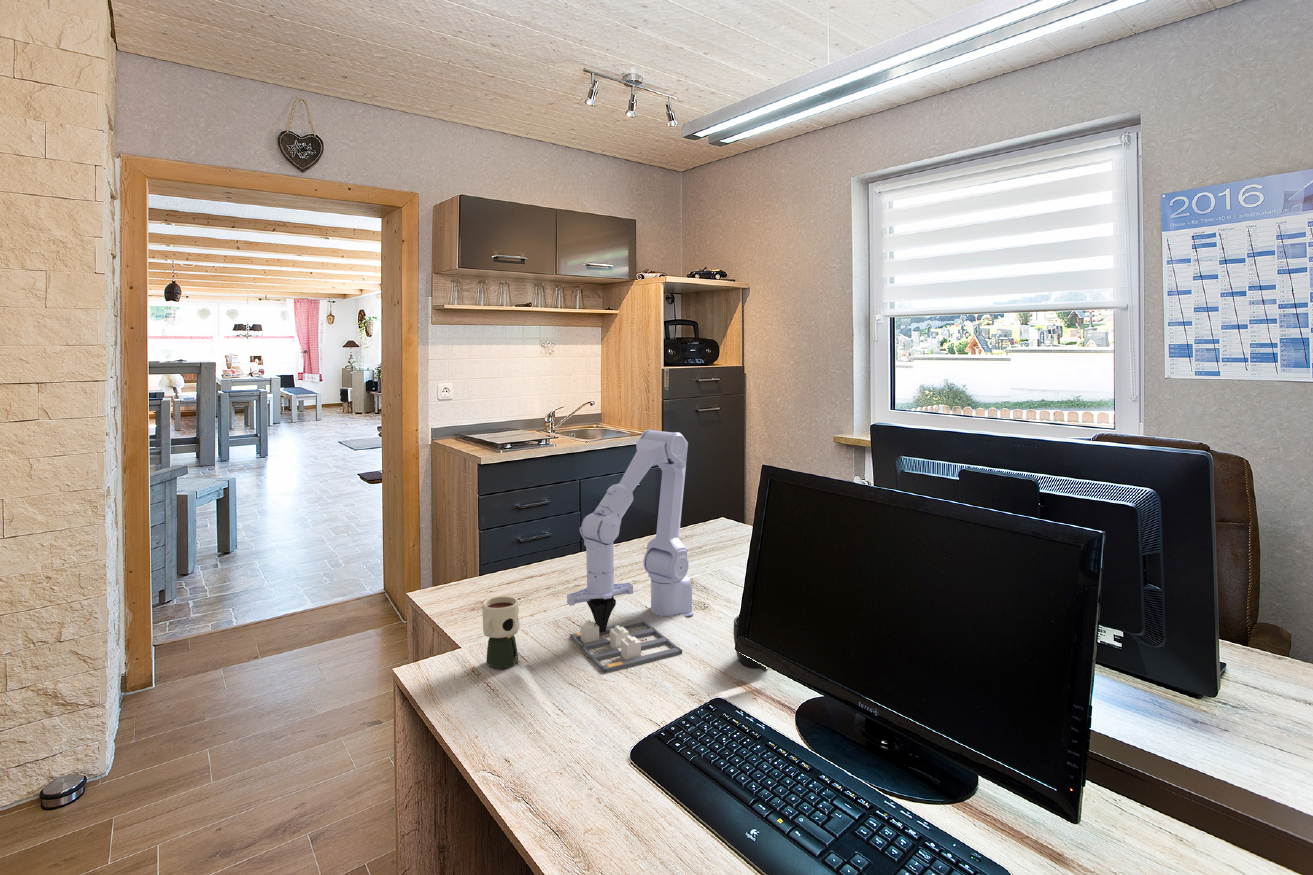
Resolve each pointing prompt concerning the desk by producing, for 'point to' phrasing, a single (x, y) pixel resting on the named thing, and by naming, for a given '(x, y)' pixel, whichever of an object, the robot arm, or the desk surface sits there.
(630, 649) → the tab
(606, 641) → the switch bank
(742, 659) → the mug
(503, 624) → the character mug
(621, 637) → the tab
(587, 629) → the tab
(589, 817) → the desk surface
